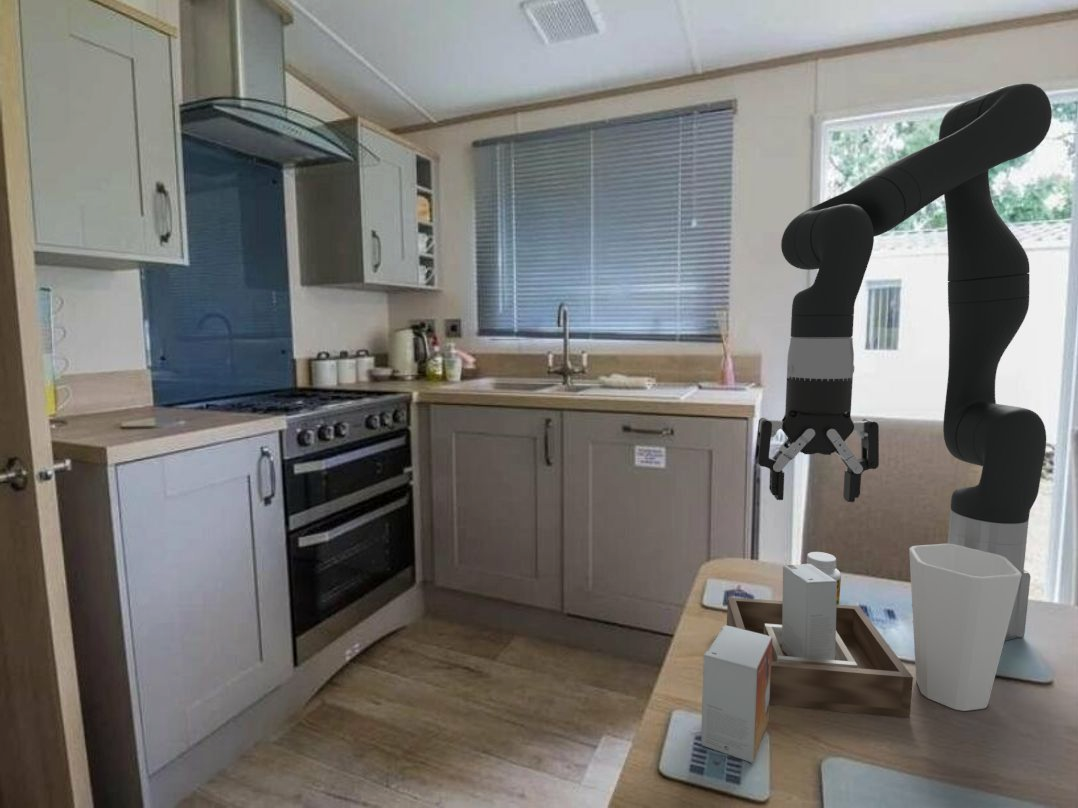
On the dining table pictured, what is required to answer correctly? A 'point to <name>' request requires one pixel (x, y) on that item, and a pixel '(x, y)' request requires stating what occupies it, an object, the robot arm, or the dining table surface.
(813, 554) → the supplement bottle
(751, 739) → the small box
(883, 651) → the walled box
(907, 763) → the dining table surface
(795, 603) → the skincare box
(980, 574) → the cup
